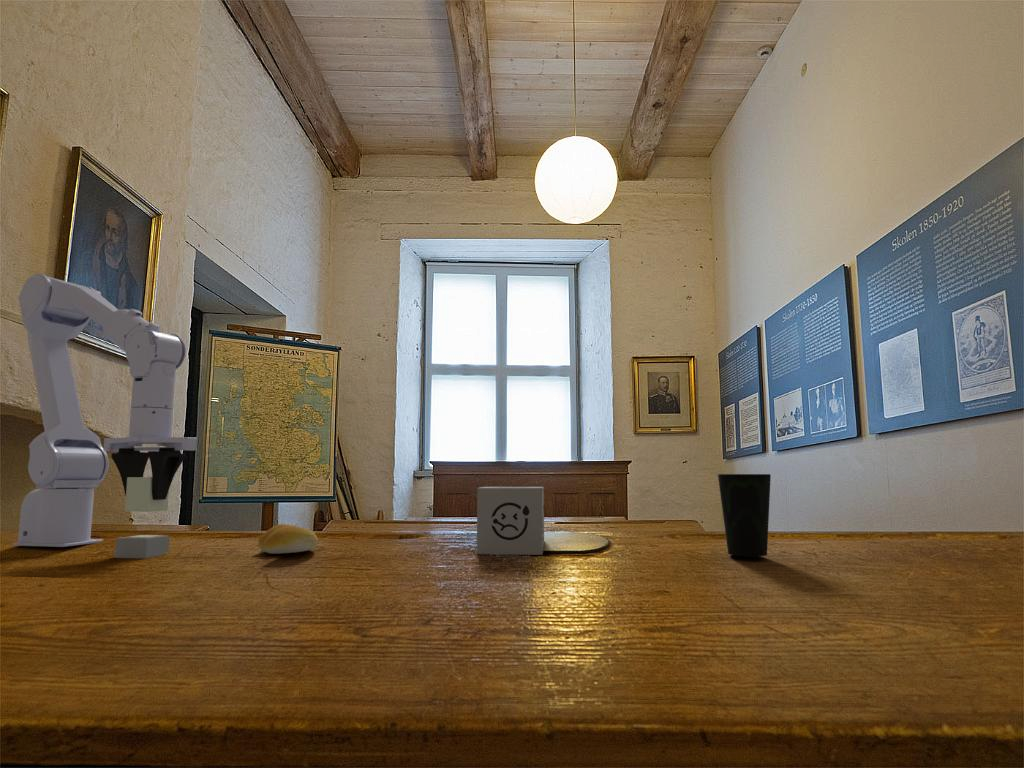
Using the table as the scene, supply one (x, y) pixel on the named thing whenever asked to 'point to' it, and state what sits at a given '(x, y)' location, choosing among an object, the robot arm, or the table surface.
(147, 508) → the sage block
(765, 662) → the table surface
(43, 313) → the robot arm
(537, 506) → the icon cube
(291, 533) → the bread roll
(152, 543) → the grey block
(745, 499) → the cup
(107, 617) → the table surface
